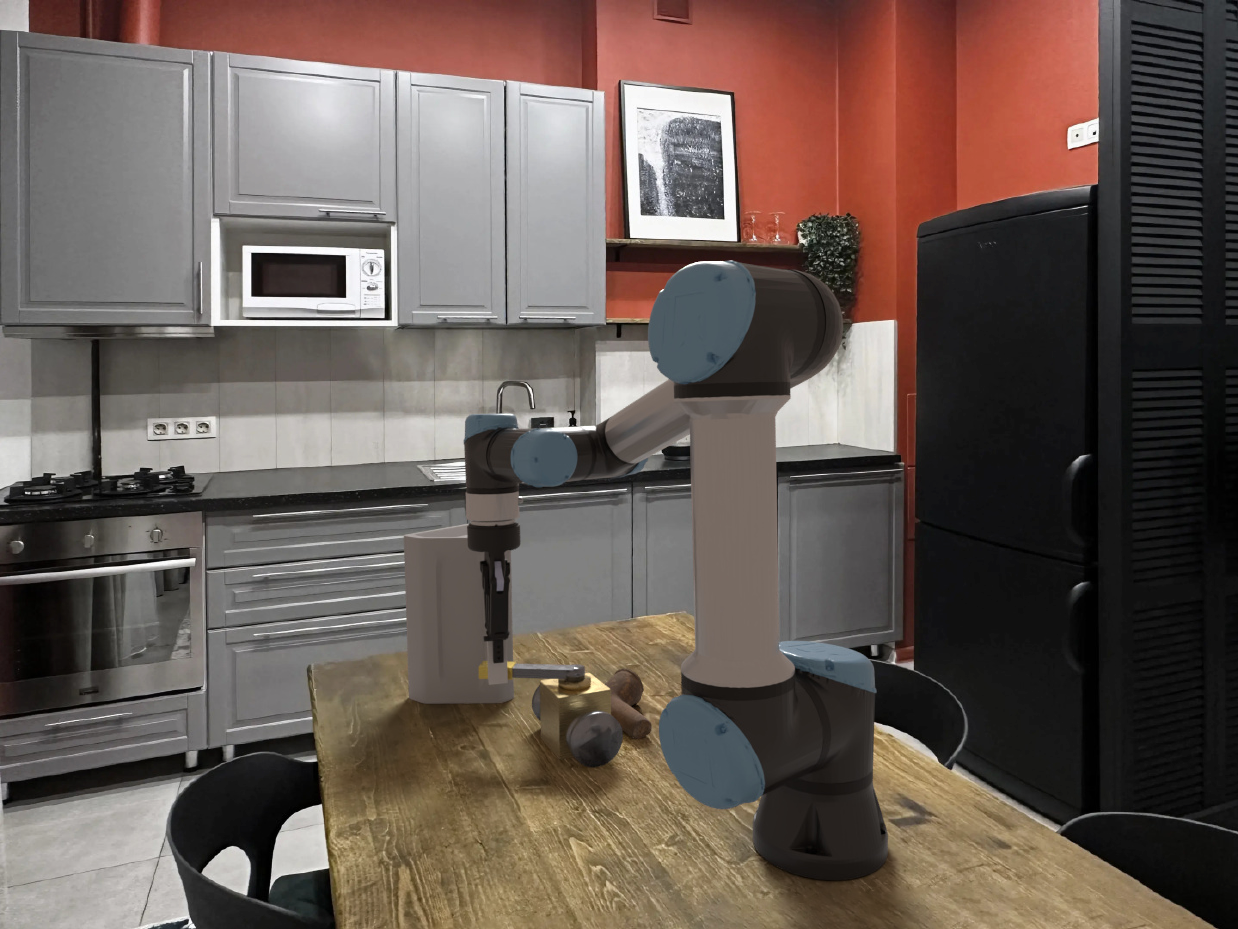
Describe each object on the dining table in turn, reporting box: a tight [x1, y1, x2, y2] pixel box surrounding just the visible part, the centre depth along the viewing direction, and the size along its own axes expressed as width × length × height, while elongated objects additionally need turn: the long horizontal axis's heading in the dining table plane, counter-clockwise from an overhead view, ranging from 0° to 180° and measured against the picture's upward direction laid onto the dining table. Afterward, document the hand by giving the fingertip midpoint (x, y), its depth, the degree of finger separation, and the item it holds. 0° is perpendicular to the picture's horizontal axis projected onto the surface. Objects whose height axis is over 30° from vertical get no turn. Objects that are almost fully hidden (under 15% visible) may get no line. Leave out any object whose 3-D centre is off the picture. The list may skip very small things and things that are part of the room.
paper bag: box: [403, 523, 515, 705], centre depth 149 cm, size 19×15×28 cm
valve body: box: [531, 672, 624, 768], centre depth 127 cm, size 17×8×10 cm, turn 25°
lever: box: [478, 661, 586, 682], centre depth 127 cm, size 16×3×2 cm, turn 84°
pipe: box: [604, 668, 653, 740], centre depth 137 cm, size 6×17×10 cm
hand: (497, 682), depth 126 cm, fingers closed
